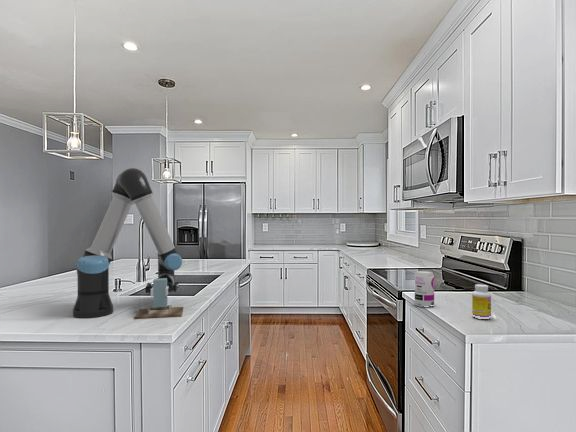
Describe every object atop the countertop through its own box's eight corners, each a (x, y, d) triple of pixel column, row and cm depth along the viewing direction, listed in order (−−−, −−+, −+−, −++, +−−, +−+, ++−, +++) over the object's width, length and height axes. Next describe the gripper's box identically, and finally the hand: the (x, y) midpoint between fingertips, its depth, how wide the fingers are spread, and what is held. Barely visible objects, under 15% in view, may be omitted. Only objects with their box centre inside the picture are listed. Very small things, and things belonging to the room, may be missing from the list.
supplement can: (435, 304, 182) (434, 271, 182) (433, 308, 175) (433, 273, 175) (416, 303, 186) (416, 270, 186) (413, 306, 178) (413, 272, 178)
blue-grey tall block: (153, 307, 164) (153, 280, 164) (154, 304, 169) (154, 278, 169) (166, 306, 165) (166, 280, 165) (167, 304, 170) (167, 278, 170)
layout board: (134, 319, 159) (134, 313, 159) (139, 310, 172) (139, 305, 172) (181, 316, 162) (181, 310, 162) (183, 308, 176) (183, 303, 176)
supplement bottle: (490, 321, 154) (490, 287, 154) (471, 318, 157) (471, 285, 157) (491, 317, 160) (491, 284, 160) (473, 315, 163) (473, 283, 163)
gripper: (184, 290, 187) (182, 300, 164) (143, 292, 183) (135, 303, 160) (184, 273, 187) (182, 282, 164) (143, 275, 183) (135, 284, 160)
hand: (159, 292), depth 162 cm, fingers closed on blue-grey tall block, 5 cm apart
